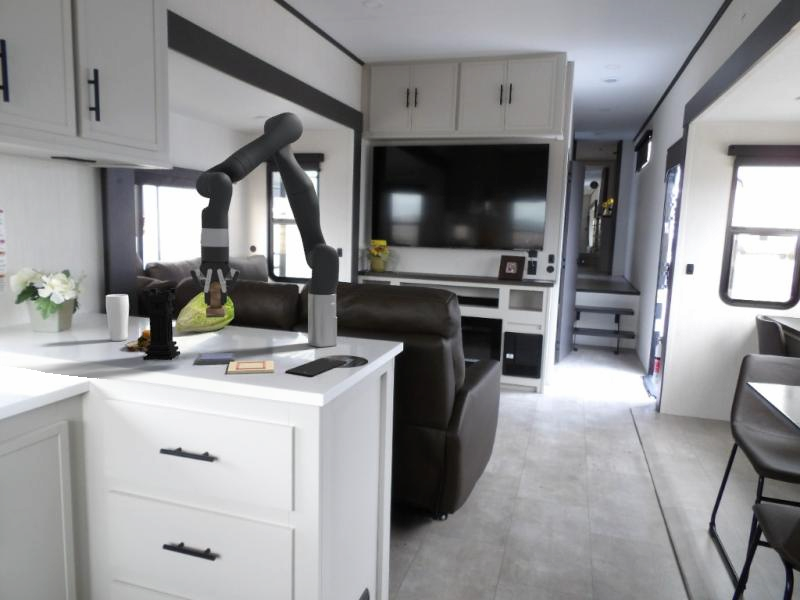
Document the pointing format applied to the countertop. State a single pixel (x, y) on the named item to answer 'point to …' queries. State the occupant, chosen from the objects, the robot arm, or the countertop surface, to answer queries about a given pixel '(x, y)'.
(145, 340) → the burger
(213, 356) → the ink pad
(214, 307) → the stamp
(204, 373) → the countertop surface
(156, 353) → the chess piece
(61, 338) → the countertop surface
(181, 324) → the lettuce
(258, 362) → the board
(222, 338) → the countertop surface
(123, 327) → the drinking glass
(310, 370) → the cell phone
